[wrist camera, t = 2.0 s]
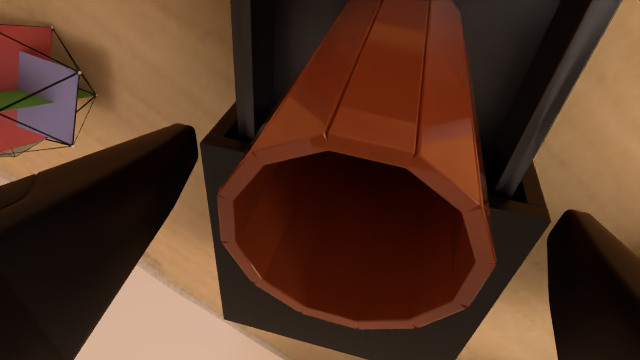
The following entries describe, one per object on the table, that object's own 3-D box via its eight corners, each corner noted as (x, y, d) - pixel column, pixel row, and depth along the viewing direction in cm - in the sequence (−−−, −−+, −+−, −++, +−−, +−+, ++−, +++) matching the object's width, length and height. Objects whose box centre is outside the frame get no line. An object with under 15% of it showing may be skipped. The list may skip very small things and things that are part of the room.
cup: (495, 41, 15) (562, 270, 7) (398, 127, 18) (361, 351, 10) (392, -59, 14) (315, 69, 5) (308, 53, 17) (180, 238, 9)
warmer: (247, 86, 21) (199, 142, 17) (528, 142, 19) (551, 221, 15) (253, 256, 30) (223, 319, 26) (441, 304, 29) (441, 380, 25)
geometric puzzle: (-65, -43, 18) (-164, 110, 17) (72, 4, 18) (-15, 163, 16) (38, 41, 25) (-24, 154, 24) (137, 76, 25) (80, 191, 23)
